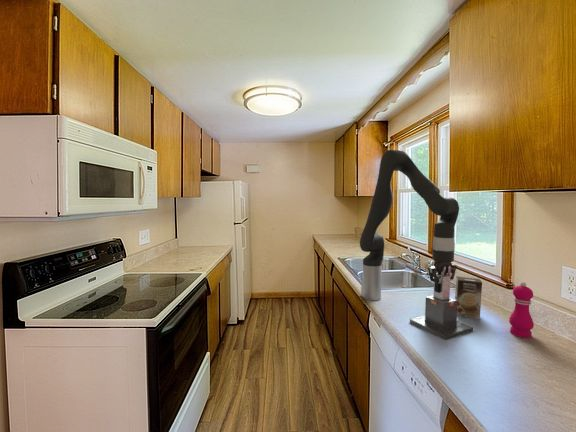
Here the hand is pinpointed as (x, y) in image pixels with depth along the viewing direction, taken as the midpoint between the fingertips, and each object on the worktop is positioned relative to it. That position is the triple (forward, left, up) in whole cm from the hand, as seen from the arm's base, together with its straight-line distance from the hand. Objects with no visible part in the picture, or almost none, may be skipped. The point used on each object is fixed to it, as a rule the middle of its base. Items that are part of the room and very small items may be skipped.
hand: (441, 291), depth 114 cm
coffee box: (-3, +21, -15) cm, 26 cm away
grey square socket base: (0, 0, -15) cm, 15 cm away
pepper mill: (+17, +22, -15) cm, 31 cm away
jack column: (0, 0, -11) cm, 11 cm away
